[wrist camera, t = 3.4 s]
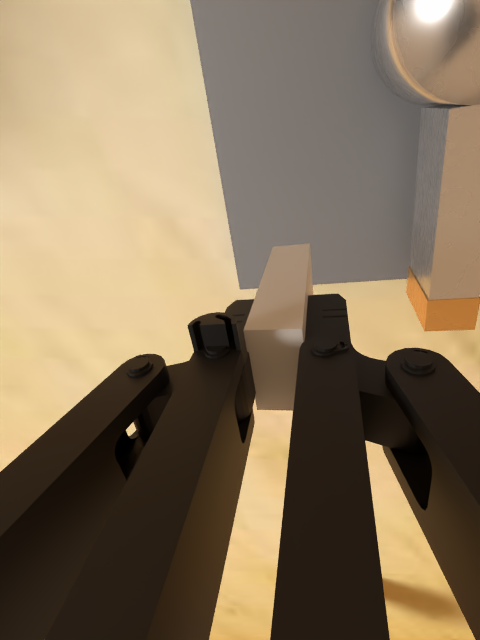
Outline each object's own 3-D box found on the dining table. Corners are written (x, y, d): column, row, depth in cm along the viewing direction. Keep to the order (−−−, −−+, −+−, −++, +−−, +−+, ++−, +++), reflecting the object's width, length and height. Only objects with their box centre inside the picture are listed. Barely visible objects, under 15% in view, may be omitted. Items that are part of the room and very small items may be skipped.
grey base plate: (245, 277, 26) (239, 291, 24) (153, -286, 14) (128, -348, 12) (621, 249, 21) (652, 265, 19) (962, -671, 9) (1139, -883, 7)
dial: (372, -52, 15) (400, -133, 10) (543, -99, 13) (680, -221, 8) (366, 284, 22) (381, 337, 17) (477, 276, 21) (529, 333, 16)
